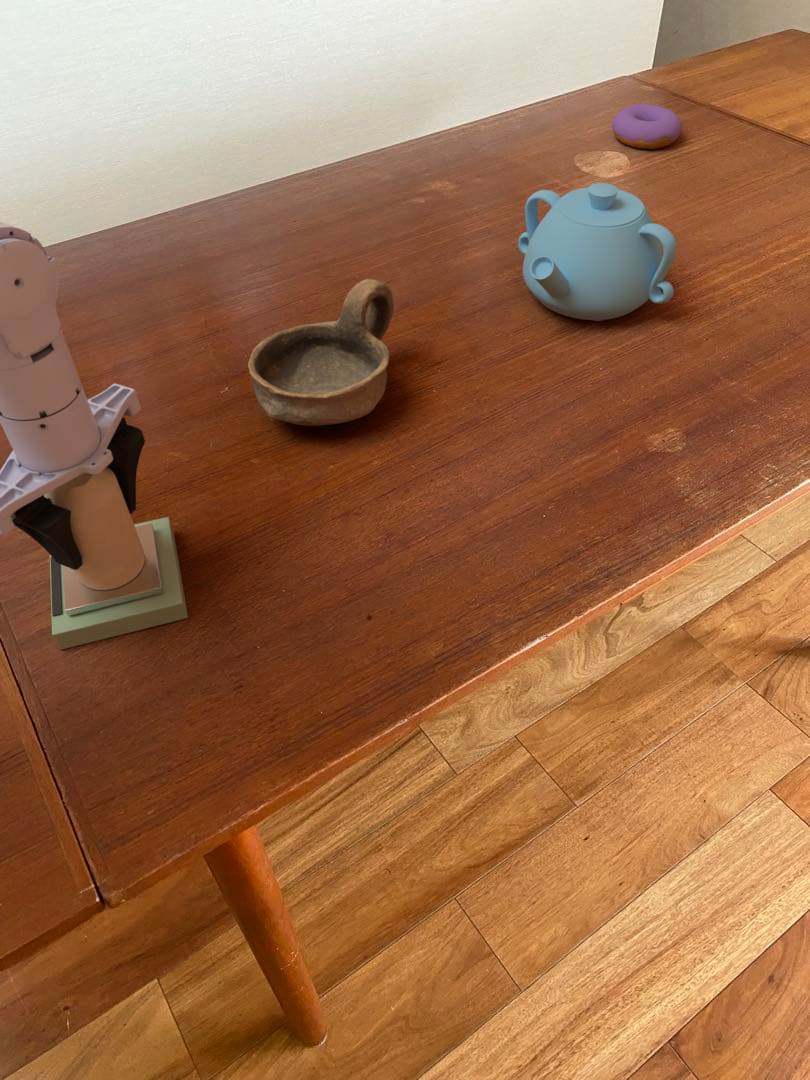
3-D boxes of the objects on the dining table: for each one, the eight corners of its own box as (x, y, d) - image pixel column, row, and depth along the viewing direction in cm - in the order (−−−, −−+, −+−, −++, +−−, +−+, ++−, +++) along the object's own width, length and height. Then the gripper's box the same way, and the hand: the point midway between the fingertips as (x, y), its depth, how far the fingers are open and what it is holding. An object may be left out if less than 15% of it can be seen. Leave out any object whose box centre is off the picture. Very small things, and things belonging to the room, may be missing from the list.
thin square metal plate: (67, 616, 67) (64, 610, 66) (64, 549, 72) (61, 543, 71) (163, 593, 68) (161, 587, 68) (154, 528, 73) (152, 522, 73)
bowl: (226, 413, 87) (206, 328, 79) (345, 334, 96) (337, 251, 88) (324, 471, 81) (312, 384, 73) (442, 381, 89) (442, 295, 82)
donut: (597, 139, 127) (605, 103, 124) (626, 132, 133) (635, 97, 130) (658, 156, 122) (668, 119, 119) (686, 148, 128) (696, 113, 125)
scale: (60, 650, 67) (50, 633, 66) (56, 559, 74) (48, 542, 72) (188, 618, 69) (182, 601, 68) (173, 532, 76) (167, 514, 74)
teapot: (698, 293, 99) (725, 185, 90) (608, 378, 89) (628, 266, 79) (552, 242, 108) (562, 139, 98) (455, 314, 98) (456, 207, 88)
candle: (64, 562, 70) (19, 471, 62) (125, 529, 72) (89, 437, 65) (95, 602, 67) (52, 511, 60) (158, 566, 69) (124, 475, 62)
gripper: (3, 479, 51) (75, 619, 61) (153, 348, 60) (194, 489, 70) (-82, 447, 54) (0, 587, 64) (74, 325, 62) (125, 465, 72)
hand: (97, 534), depth 67 cm, fingers open, 6 cm apart
